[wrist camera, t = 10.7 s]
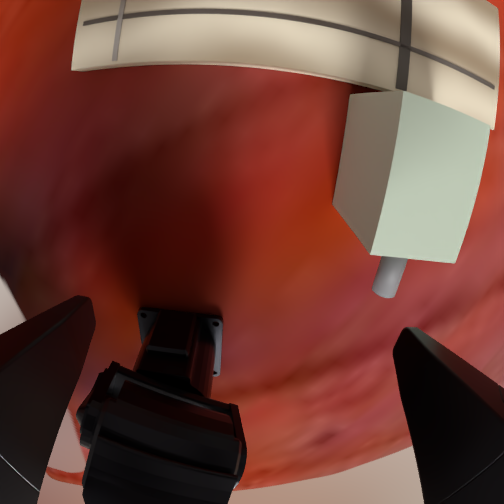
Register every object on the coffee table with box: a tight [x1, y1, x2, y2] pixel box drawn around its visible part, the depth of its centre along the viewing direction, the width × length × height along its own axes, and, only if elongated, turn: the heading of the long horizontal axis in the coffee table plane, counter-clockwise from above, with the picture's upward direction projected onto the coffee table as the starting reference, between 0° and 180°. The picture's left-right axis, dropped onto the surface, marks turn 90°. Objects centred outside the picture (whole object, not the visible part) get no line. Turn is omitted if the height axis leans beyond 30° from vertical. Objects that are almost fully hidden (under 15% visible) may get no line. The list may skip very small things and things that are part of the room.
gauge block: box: [332, 91, 490, 298], centre depth 15 cm, size 10×5×7 cm, turn 174°
